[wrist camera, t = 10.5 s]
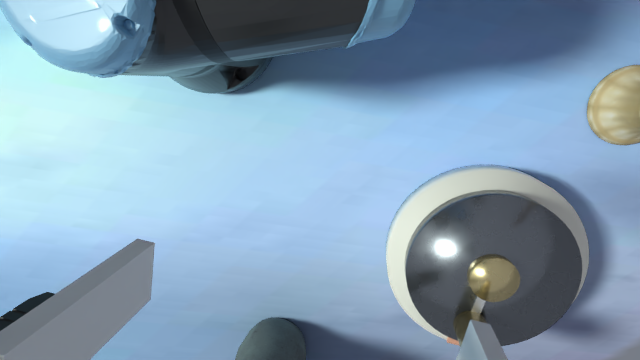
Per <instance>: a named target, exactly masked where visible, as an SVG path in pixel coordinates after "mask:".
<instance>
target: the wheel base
mask: <svg viewBox="0 0 640 360" xmlns="http://www.w3.org/2000/svg"><path fill="white" fill-rule="evenodd" d="M482 190H499V191H508V192H513V193H517V194H520V195H523V196H526V197H528V198H530V199H532V200H534V201H536V202H538V203H540V204H541V205H543V206H544V207H546V208H547V209H548V210H550V211H551V212H553V213H554V214H555V215H556V216H558V217H559V218H560V219H561V220H562V221H563V222H564V223H565V224H566V226H567V227H568V228H569V229H570V230H571V232H572V234H573V236H574V237H575V239H576V241H577V244H578V246H579V249H580V253H581V258H582V278H581V283H580V286H579V290H578V292H577V295H576V297H575V299H576V298H577V296H578V294H579V292H580V290H581V288H582V286H583V283H584V281H585V278H586V275H587V270H588V265H589V246H588V239H587V235H586V232H585V228H584V226H583V224H582V222H581V220H580V217H579V216H578V214H577V213H576V211H575V210H574V208H573V207H572V206H571V205H570V204H569V202H568V201H567V200H566V199H565V198H564V197H563V196H562V195H560V194H559V193H558V192H557V191H555V190H554V189H553V188H551V187H549V186H548V185H546V184H544V183H543V182H541V181H539V180H537V179H536V178H534V177H532V176H531V175H528V174H526V173H524V172H521V171H519V170H516V169H512V168H508V167H504V166H497V165H472V166H465V167H460V168H456V169H452V170H450V171H447V172H444V173H441V174H439V175H437V176H435V177H433V178H431V179H430V180H428V181H427V182H425V183H424V184H422V185H421V186H419V187H418V188H417V189H416V190H415V191H414V192H412V193H411V194H410V195H409V197H408V198H407V199H406V200H405V201H404V202H403V203H402V205H401V206H400V208H399V209H398V211H397V212H396V214H395V216H394V218H393V220H392V222H391V225H390V228H389V231H388V236H387V241H386V261H387V271H388V277H389V281H390V285H391V288H392V290H393V293H394V295H395V297H396V299H397V300H398V302H399V304H400V305H401V307H402V308H403V309H404V311H405V312H406V313H407V314H408V315H409V316H410V317H411V318H412V319H413V320H414V321H415V322H416V323H417V324H419V325H420V326H421V327H423V328H424V329H426V330H427V331H429V332H431V333H433V334H434V335H437V336H439V337H441V338H443V339H446V340H447V343H452V344H456V345H459V342H458V341H457V340H454V339H452V338H449V337H447V336H445V335H443V334H442V333H440V332H439V331H437V330H436V329H434V328H433V327H432V326H431V325H430V324H428V323H427V322H426V321H425V319H424V318H423V317H422V316H421V315H420V314H419V312H418V311H417V309H416V308H415V306H414V304H413V302H412V300H411V297H410V294H409V291H408V287H407V282H406V276H405V255H406V250H407V247H408V243H409V241H410V239H411V236H412V234H413V233H414V231H415V230H416V228H417V226H418V225H419V224H420V223H421V221H422V220H423V219H424V218H425V217H426V216H427V215H428V214H429V213H430V212H431V211H433V210H434V209H435V208H437V207H438V206H439V205H441V204H443V203H445V202H446V201H448V200H450V199H452V198H455V197H457V196H460V195H463V194H467V193H470V192H476V191H482ZM575 299H574V300H575ZM573 302H574V301H573Z"/></svg>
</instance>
